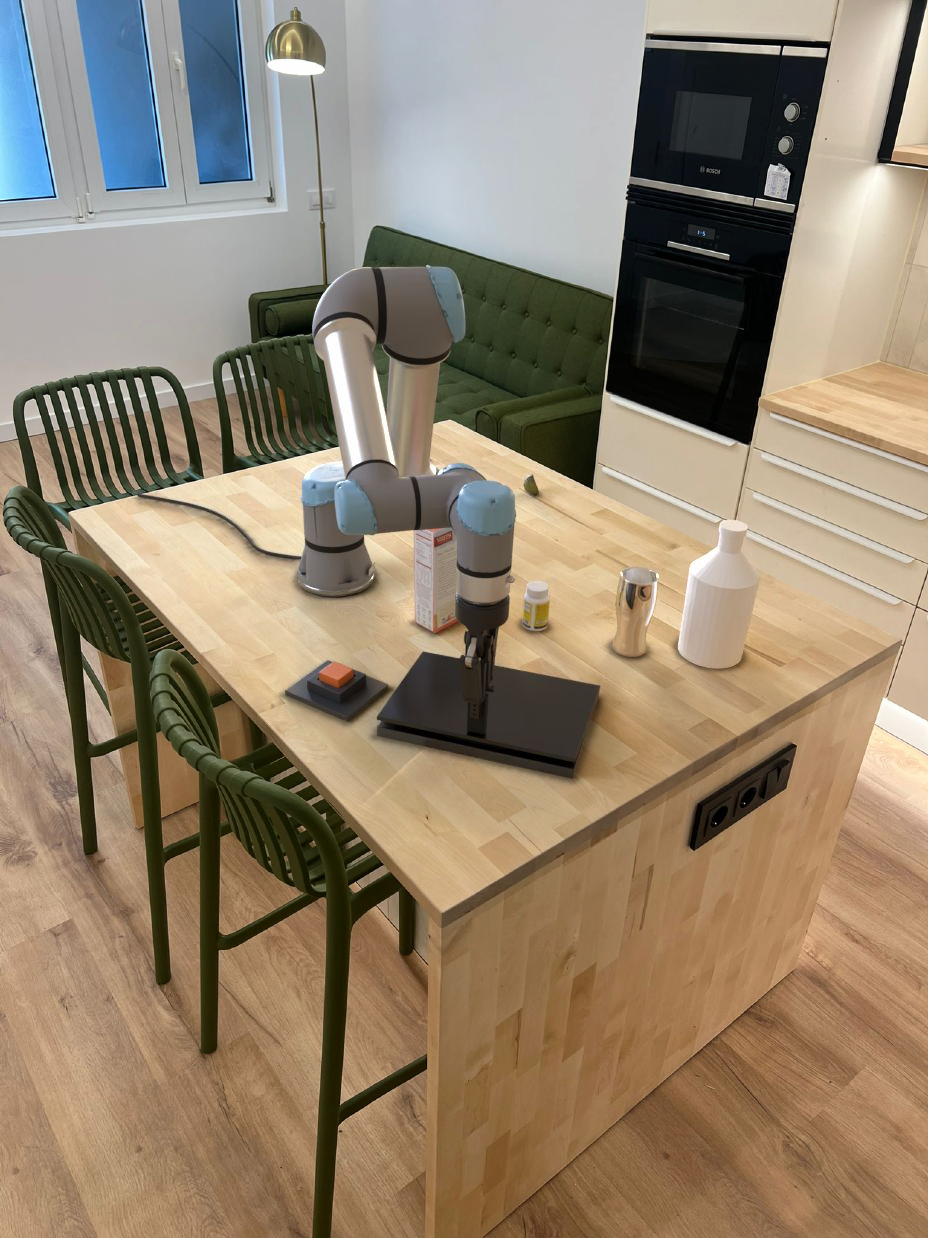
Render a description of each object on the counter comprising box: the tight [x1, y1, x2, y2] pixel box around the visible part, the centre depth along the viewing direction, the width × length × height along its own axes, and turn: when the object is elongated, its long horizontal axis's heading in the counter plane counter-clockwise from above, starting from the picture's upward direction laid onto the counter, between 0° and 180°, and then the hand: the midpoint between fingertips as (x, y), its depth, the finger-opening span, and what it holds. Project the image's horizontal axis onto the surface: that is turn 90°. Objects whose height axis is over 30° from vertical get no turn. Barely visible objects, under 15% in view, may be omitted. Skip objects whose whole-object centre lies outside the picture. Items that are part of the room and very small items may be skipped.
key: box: [319, 660, 354, 688], centre depth 154 cm, size 4×4×2 cm
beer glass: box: [611, 566, 660, 658], centre depth 166 cm, size 7×7×15 cm
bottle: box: [677, 519, 761, 670], centre depth 163 cm, size 12×12×25 cm
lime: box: [523, 473, 540, 496], centre depth 227 cm, size 4×5×5 cm
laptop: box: [376, 689, 601, 779], centre depth 150 cm, size 22×31×2 cm
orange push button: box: [284, 659, 390, 723], centre depth 155 cm, size 13×11×3 cm
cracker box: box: [413, 527, 460, 634], centre depth 172 cm, size 14×6×21 cm, turn 135°
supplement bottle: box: [522, 580, 551, 632], centre depth 173 cm, size 5×5×8 cm
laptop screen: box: [376, 650, 601, 762], centre depth 149 cm, size 22×31×1 cm
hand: (476, 729), depth 141 cm, fingers closed
